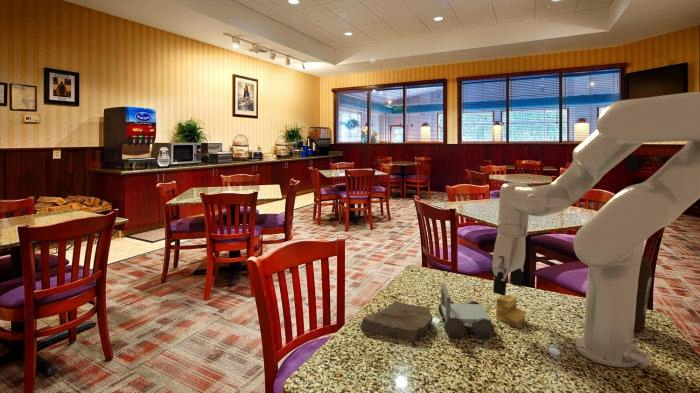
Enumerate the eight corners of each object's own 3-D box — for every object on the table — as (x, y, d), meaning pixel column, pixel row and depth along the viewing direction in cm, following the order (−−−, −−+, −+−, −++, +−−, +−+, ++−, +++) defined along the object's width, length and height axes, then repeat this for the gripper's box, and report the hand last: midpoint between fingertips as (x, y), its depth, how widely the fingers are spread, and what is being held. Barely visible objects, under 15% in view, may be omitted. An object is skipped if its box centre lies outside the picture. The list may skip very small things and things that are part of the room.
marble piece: (359, 331, 106) (359, 316, 105) (383, 311, 118) (383, 298, 118) (420, 346, 97) (420, 329, 97) (438, 323, 110) (438, 308, 110)
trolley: (481, 318, 112) (482, 283, 111) (493, 339, 100) (495, 300, 98) (438, 317, 113) (438, 282, 112) (444, 338, 101) (445, 299, 99)
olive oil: (602, 330, 104) (609, 235, 101) (596, 314, 114) (601, 227, 111) (652, 337, 100) (660, 239, 97) (641, 320, 109) (648, 230, 106)
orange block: (524, 320, 110) (525, 299, 110) (517, 325, 107) (518, 304, 107) (503, 314, 115) (504, 294, 114) (496, 319, 112) (496, 298, 111)
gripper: (513, 222, 117) (509, 278, 119) (483, 231, 105) (479, 293, 108) (539, 226, 111) (534, 285, 114) (511, 236, 100) (506, 302, 102)
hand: (507, 289), depth 111 cm, fingers open, 9 cm apart
